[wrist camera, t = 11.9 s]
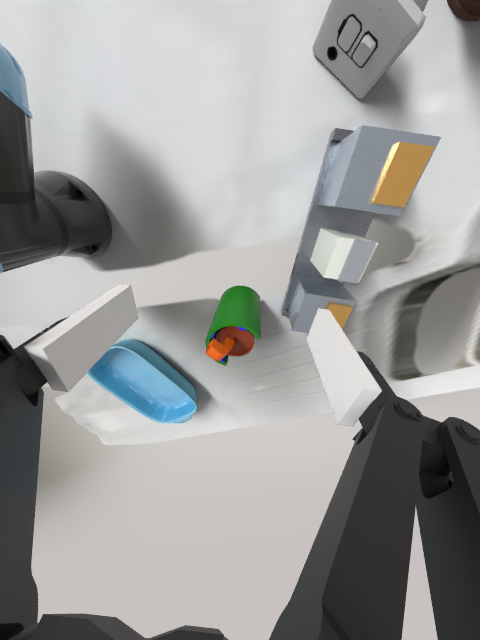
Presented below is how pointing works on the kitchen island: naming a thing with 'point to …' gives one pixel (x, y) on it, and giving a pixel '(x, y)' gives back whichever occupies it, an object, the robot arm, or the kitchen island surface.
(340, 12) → the electrical switch
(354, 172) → the rail
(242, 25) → the kitchen island surface
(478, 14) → the black ball on stand
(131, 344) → the casserole dish
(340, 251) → the block
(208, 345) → the motor
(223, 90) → the kitchen island surface
